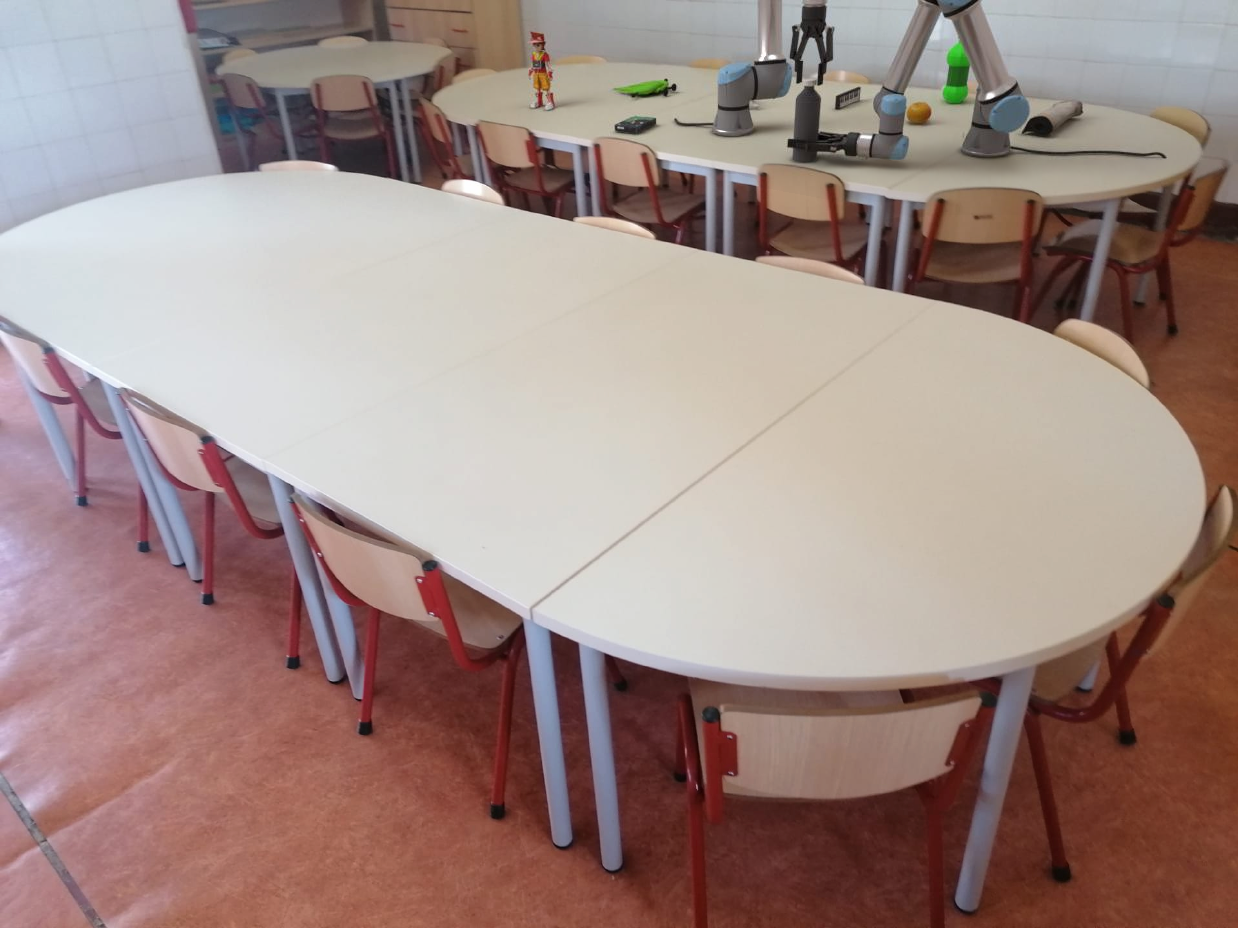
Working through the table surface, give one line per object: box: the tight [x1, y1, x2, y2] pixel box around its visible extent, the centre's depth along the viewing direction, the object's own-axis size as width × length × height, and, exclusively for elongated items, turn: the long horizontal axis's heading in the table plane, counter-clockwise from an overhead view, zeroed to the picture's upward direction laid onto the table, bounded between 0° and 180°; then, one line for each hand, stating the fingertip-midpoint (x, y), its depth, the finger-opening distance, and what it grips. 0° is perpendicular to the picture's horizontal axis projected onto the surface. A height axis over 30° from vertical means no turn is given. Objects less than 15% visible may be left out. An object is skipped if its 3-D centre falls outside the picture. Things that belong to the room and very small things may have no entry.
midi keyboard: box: [834, 86, 862, 110], centre depth 359 cm, size 18×1×5 cm, turn 138°
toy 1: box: [527, 31, 556, 111], centre depth 374 cm, size 12×9×30 cm
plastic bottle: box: [942, 36, 971, 104], centre depth 348 cm, size 10×10×25 cm
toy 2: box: [612, 78, 677, 99], centre depth 396 cm, size 28×5×30 cm
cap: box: [801, 77, 817, 87], centre depth 290 cm, size 4×5×2 cm
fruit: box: [906, 101, 932, 124], centre depth 331 cm, size 8×8×8 cm
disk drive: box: [614, 115, 657, 135], centre depth 346 cm, size 10×3×15 cm
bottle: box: [792, 86, 822, 163], centre depth 297 cm, size 8×8×25 cm
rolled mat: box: [1021, 99, 1084, 138], centre depth 318 cm, size 30×9×10 cm
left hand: (809, 83), depth 290 cm, fingers open, 7 cm apart
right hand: (792, 139), depth 302 cm, fingers closed on bottle, 8 cm apart
